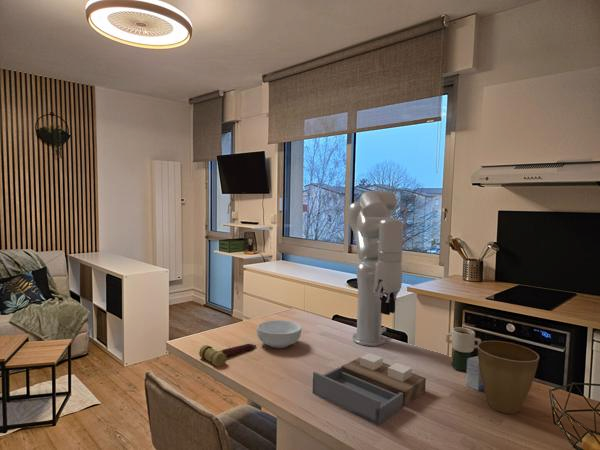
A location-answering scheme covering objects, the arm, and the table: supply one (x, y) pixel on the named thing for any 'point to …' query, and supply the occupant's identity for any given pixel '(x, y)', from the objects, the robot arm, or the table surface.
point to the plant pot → (506, 374)
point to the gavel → (222, 353)
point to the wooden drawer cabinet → (387, 380)
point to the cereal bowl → (279, 333)
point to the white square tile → (371, 361)
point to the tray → (357, 395)
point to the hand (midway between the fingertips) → (387, 312)
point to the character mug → (462, 346)
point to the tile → (399, 372)
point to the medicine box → (474, 374)
